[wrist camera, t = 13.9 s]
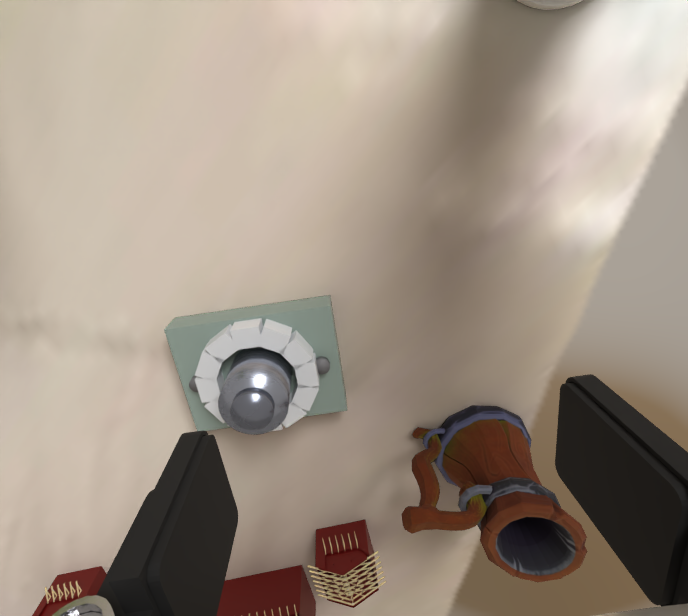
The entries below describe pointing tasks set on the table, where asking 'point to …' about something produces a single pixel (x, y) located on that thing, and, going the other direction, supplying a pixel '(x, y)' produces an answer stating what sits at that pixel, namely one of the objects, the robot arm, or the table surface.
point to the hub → (256, 391)
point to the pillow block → (267, 332)
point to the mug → (495, 494)
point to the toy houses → (267, 580)
